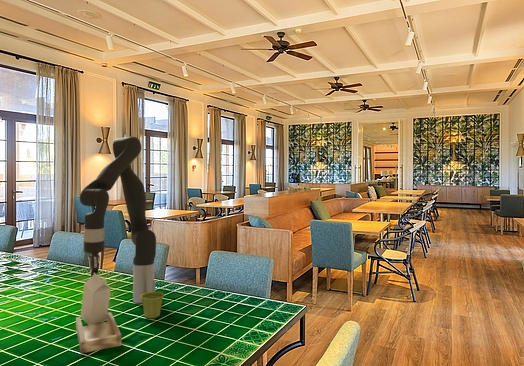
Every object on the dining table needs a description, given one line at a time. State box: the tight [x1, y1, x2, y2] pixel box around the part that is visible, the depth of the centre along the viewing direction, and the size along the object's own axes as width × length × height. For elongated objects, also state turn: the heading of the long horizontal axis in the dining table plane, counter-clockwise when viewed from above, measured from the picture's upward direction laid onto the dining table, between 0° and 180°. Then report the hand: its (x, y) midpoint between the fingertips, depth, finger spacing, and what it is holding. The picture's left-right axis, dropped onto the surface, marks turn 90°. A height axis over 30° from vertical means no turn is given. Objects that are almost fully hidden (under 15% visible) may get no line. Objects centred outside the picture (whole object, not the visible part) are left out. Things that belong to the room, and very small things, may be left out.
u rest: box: [75, 311, 123, 354], centre depth 140 cm, size 13×24×4 cm, turn 29°
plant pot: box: [140, 291, 165, 319], centre depth 160 cm, size 9×9×9 cm
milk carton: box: [80, 272, 112, 326], centre depth 150 cm, size 7×7×19 cm
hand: (93, 282), depth 153 cm, fingers closed
